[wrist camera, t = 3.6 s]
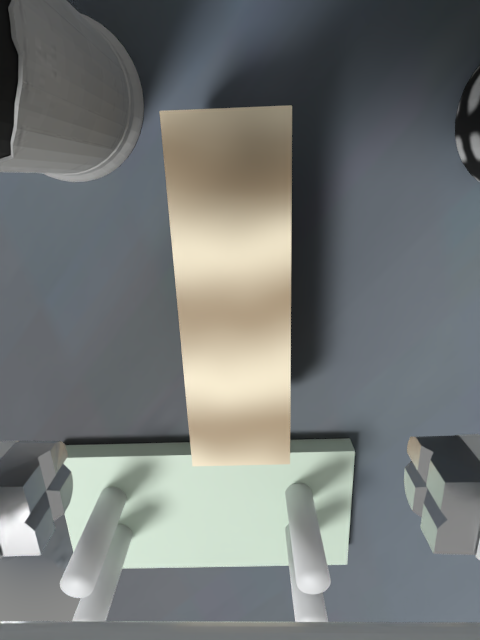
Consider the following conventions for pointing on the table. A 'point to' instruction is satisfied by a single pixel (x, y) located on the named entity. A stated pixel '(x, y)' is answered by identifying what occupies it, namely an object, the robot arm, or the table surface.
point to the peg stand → (206, 517)
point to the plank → (233, 277)
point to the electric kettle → (64, 93)
